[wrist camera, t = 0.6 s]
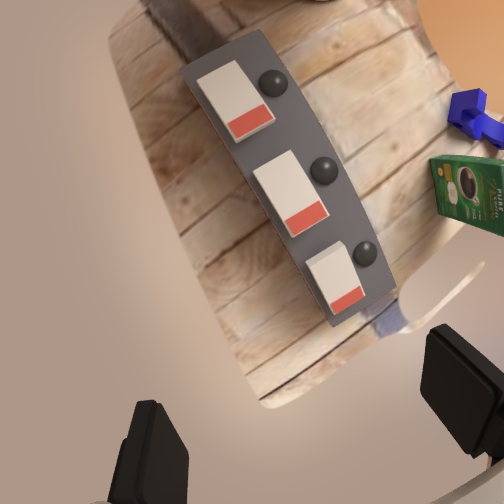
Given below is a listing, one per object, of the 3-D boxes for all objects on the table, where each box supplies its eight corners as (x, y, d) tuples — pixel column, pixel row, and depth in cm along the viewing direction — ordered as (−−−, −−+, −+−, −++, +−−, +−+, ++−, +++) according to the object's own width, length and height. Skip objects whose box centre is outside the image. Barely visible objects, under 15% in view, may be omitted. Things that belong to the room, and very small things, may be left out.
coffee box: (452, 211, 37) (520, 232, 24) (437, 217, 37) (506, 239, 24) (443, 154, 35) (514, 157, 22) (427, 157, 35) (500, 162, 22)
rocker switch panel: (255, 42, 29) (259, 27, 25) (381, 275, 38) (397, 287, 34) (183, 79, 30) (178, 68, 26) (322, 312, 39) (333, 329, 34)
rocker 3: (337, 238, 31) (345, 245, 29) (358, 287, 34) (366, 296, 32) (303, 259, 31) (309, 267, 29) (327, 306, 34) (334, 316, 32)
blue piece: (446, 120, 34) (475, 118, 28) (451, 93, 33) (479, 88, 27) (496, 157, 36) (523, 160, 30) (500, 132, 35) (527, 133, 29)
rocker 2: (288, 153, 29) (290, 149, 28) (325, 215, 30) (330, 215, 28) (252, 173, 30) (252, 170, 28) (290, 236, 30) (293, 237, 28)
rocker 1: (235, 68, 27) (234, 59, 25) (274, 124, 27) (275, 117, 25) (199, 87, 27) (196, 79, 25) (236, 145, 28) (235, 140, 26)
